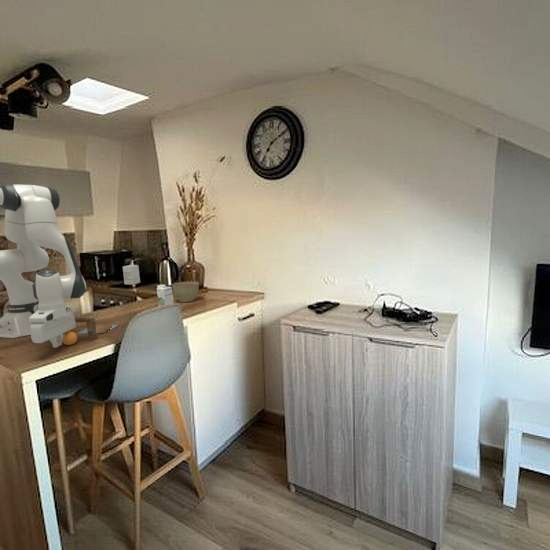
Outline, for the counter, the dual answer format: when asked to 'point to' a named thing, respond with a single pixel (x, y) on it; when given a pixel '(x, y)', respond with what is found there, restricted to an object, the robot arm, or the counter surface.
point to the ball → (69, 338)
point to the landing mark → (87, 331)
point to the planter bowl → (185, 291)
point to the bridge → (88, 327)
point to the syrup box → (164, 296)
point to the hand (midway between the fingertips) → (57, 346)
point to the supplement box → (131, 274)
